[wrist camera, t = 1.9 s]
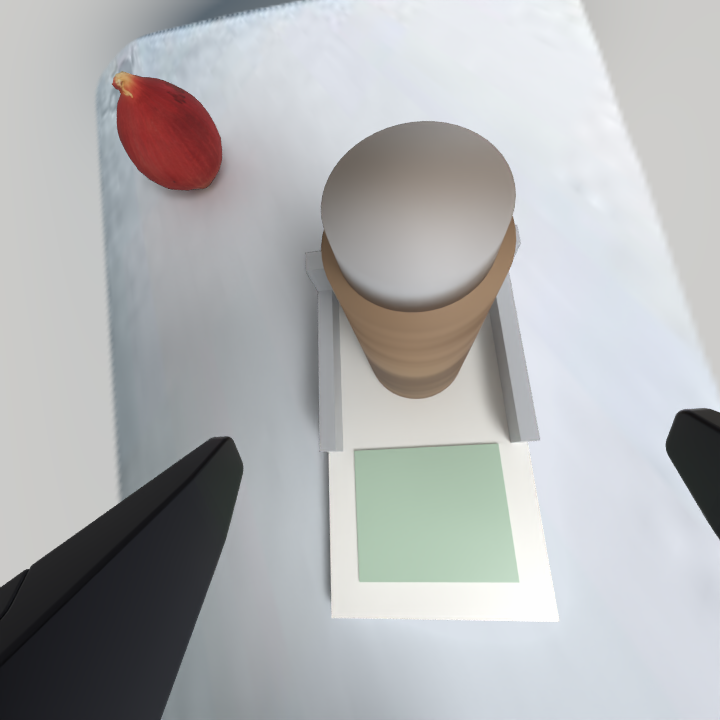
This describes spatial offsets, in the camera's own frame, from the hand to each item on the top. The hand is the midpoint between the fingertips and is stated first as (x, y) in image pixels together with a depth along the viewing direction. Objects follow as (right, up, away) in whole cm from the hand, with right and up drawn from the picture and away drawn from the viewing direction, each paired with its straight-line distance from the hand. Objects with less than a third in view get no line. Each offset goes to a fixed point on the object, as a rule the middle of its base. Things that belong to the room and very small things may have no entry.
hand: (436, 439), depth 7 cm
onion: (-13, +15, +19) cm, 28 cm away
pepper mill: (+1, +2, +12) cm, 12 cm away
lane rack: (+2, -2, +12) cm, 12 cm away
